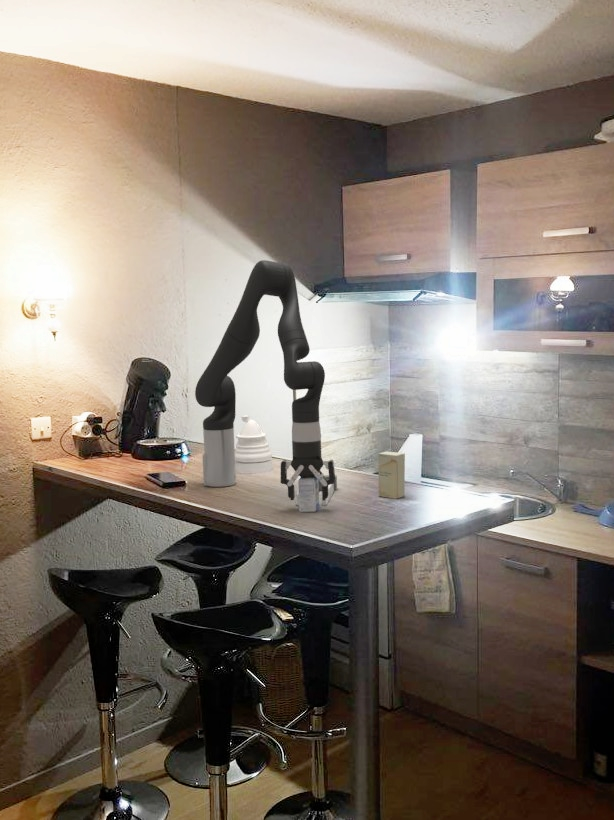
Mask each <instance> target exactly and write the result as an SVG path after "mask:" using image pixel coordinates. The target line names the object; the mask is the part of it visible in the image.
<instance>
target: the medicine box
mask: <svg viewBox="0 0 614 820" xmlns="http://www.w3.org/2000/svg"><path fill="white" fill-rule="evenodd" d="M299 477H300V476H299ZM297 493H299V505H298V508H299V512H300V513H316V512H317V510H318V508H319V506H320V492H319V486H318V479H317V478H316V476H314V477H300V478H298V481H297Z"/></svg>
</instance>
